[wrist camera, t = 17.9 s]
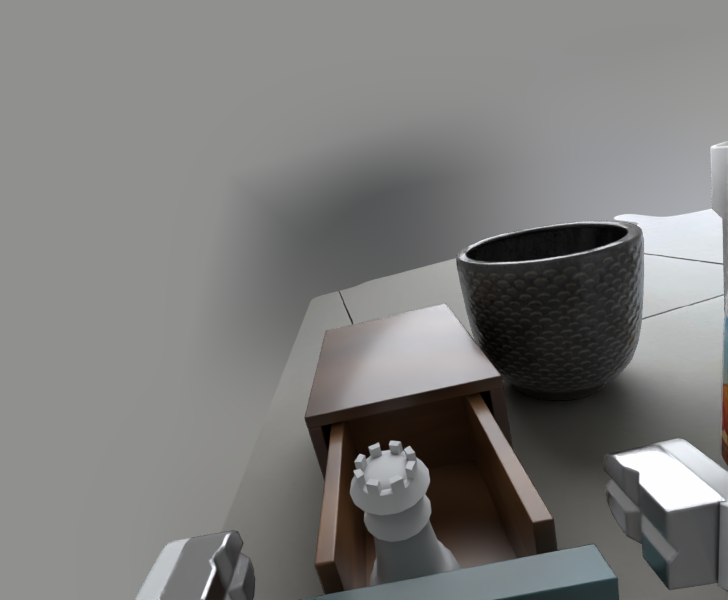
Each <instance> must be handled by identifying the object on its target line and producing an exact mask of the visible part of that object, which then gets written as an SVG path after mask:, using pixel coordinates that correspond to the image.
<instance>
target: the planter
mask: <svg viewBox="0 0 728 600" xmlns="http://www.w3.org/2000/svg"><path fill="white" fill-rule="evenodd" d="M456 261H457V270H458V274H459V279H460V284H461V289H462V294H463V298H464V302H465V307H466V311H467V315H468V319H469V323H470V327H471V331H472V334H473V337H474V340H475V342H476V343H477V345H478V346H479V347H480V349H481V350H482V351H483V352H484V354H485V355H486V356H487V358H488V359H489V360H490V362H491V363H492V364H493V365H494V367H495V368H496V369H497V371H498V372H499V373H500V375H501V376H502V379H503V380H505V381H507V382H509V383H510V384H511V385H512V386H513V387H514V388H516V389H517V390H518V391H520V392H522V393H524V394H526V395H529V396H532V397H535V398H540V399H545V400H572V399H578V398H582V397H585V396H588V395H591V394H593V393H595V392H596V391H598V390H599V389H600V388H602V387H603V385H604V384H605V383H606V382H608V381H610V380H612V379H613V378H615V377H616V376H617V375H619V374H620V373H621V372H622V371H623V370H624V369H625V368H626V366H627V365H628V364H629V363H630V361H631V360H632V358H633V355H634V352H635V350H636V347H637V344H638V341H639V335H640V329H641V323H642V308H643V285H644V239H643V233H642V230H641V228H640V227H638V226H637V225H634V224H631V223H626V222H618V221H585V222H572V223H563V224H555V225H547V226H541V227H535V228H529V229H524V230H519V231H514V232H510V233H506V234H501V235H498V236H494V237H491V238H488V239H485V240H482V241H479V242H476V243H474V244H472V245H469V246H467V247H466V248H464V249H463V250H461V251H460V252H459V253H458V255H457V259H456Z"/></svg>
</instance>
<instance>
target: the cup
mask: <svg viewBox="0 0 728 600" xmlns="http://www.w3.org/2000/svg"><path fill="white" fill-rule="evenodd" d="M710 156H711V189H712V209H713V210H714V211H715V212H716V213H717V214H718V215H719V216H720V217H721V218H722V219H723V266H724V312H725V305H726V297H727V292H728V141H725V142H722V143H719V144H716V145H713V146H712V147H711V148H710Z"/></svg>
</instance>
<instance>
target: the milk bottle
mask: <svg viewBox="0 0 728 600" xmlns="http://www.w3.org/2000/svg"><path fill="white" fill-rule="evenodd" d="M720 467H722V468H723V469H724V470H726V471H727V472H728V292H727V297H726V305H725V317H724V329H723V354H722V383H721V428H720Z"/></svg>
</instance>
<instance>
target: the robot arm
mask: <svg viewBox="0 0 728 600" xmlns="http://www.w3.org/2000/svg"><path fill="white" fill-rule="evenodd" d="M604 470H605V472H606V473H607V474H608V475H609V476H610V477H611V479H610V481H609V482H608V484H607V486H606V487H605V488H606V496H607V502H608V504H609V507H610V510H611V512H612V515H613V516H614V518H615V520H616V522H617V523H618V525H619V526H620V528H621V529H622V530H623V532H624V533H625V534H626V536H627V537H629V538H631V539H633V540H635V541H637V542H638V543H640V544H642V550H643V557H644V559H645V560H646V561H647V563H648V564H649V565H650V566H651V568H652V569H653V570H654V571H655V573H656V574H657V575H658V577H659V578H660V579H661V580H662V582H663V583H664V584H665V585H666V587H667V588H668V589H669V590H674V589H680V588H687V587H694V586H700V585H707V584H713V583H718V586H720V587H721V588H723V589H725V590H726V591H728V472H727V471H726V470H724V469H723V468H722V467H720V466H719V465H718V464H716V463H715V462H714V461H712V460H711V459H710V458H708V457H707V456H706V455H704V454H703V453H702V452H700V451H699V450H698V449H696V448H695V447H694V446H692V445H691V444H690V443H688V442H687V441H685V440H682V439H680V438H677V439H672V440H668V441H663V442H659V443H654V444H653V445H646V446H641V447H637V448H632V449H627V450H623V451H618V452H613V453H609V454H605V457H604ZM242 546H243V541H242V539H241V536H240V534H239V532H238V531H234V530H231V531H226V532H220V533H215V534H209V535H203V536H197V537H192V538H190V539H184V540H178V541H171V542H170V543H168V544H167V545H166V546H165V547H164V548H163V549H162V551H161V553H160V555H159V557H158V559H157V560H156V562H155V564H154V566H153V568H152V569H151V571H150V573H149V575H148V577H147V578H146V580H145V582H144V584H143V586H142V587H141V589H140V591H139V593H138V594H137V596H136V599H135V600H253V598H254V590H255V575H254V569H253V565H252V563H251V560H250V558H249V557H247V556H246V555H244V554H243V553H241V549H242Z"/></svg>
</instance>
